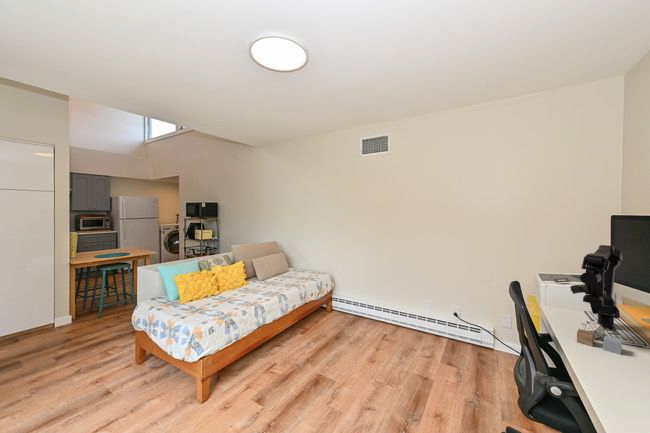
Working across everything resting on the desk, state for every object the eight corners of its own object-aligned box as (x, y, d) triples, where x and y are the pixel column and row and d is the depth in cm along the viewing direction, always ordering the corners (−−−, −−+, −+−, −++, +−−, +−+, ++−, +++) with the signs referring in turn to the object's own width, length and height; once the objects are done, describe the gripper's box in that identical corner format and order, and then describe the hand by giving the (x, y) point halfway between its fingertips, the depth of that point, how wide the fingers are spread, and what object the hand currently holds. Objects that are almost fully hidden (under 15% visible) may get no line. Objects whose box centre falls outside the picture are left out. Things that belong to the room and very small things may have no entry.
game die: (599, 347, 123) (617, 336, 117) (580, 339, 125) (597, 328, 119) (591, 330, 130) (608, 319, 124) (572, 323, 132) (588, 312, 125)
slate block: (604, 346, 117) (604, 335, 117) (621, 350, 113) (621, 339, 113) (603, 350, 114) (603, 339, 114) (620, 355, 110) (621, 343, 110)
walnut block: (578, 338, 124) (578, 328, 124) (593, 343, 120) (593, 332, 120) (576, 342, 121) (577, 331, 121) (592, 346, 117) (592, 336, 117)
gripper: (575, 274, 135) (574, 303, 136) (568, 281, 124) (567, 313, 124) (606, 278, 127) (605, 310, 128) (602, 287, 115) (601, 321, 116)
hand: (594, 313), depth 124 cm, fingers closed
